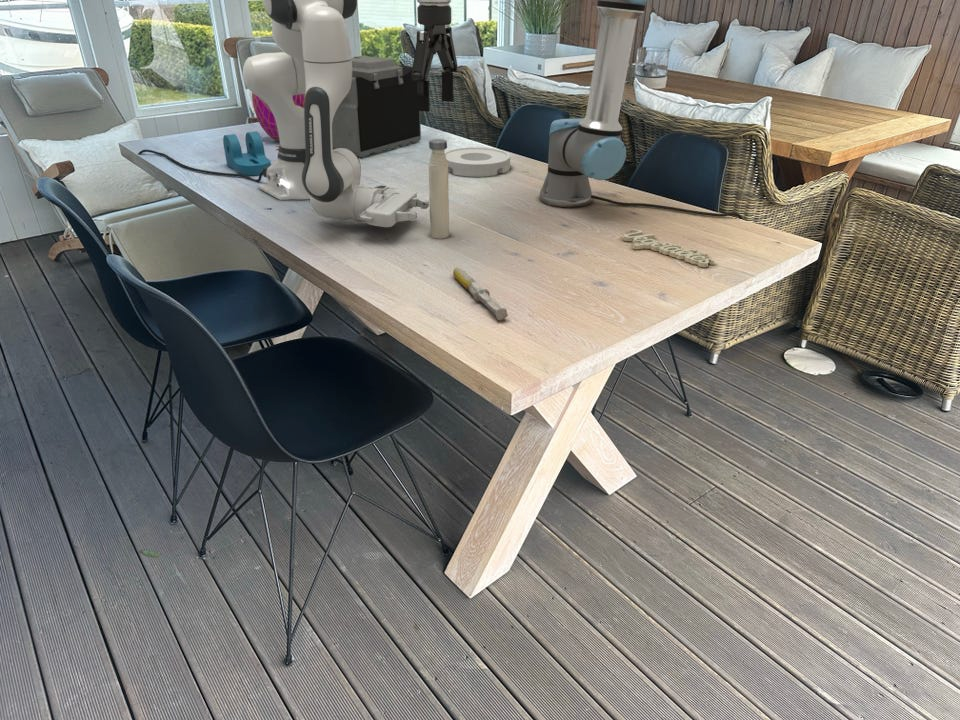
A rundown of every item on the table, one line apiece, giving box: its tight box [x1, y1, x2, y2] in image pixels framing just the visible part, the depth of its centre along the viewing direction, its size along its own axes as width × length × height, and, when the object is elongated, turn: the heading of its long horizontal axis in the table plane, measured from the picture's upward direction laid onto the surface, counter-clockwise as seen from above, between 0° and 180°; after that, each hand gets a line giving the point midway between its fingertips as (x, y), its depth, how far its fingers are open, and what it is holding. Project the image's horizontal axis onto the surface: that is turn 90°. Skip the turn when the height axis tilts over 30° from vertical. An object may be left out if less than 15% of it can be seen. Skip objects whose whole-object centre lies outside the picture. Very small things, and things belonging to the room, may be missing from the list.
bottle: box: [428, 149, 450, 239], centre depth 171 cm, size 5×5×23 cm
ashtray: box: [444, 146, 511, 178], centre depth 232 cm, size 23×23×4 cm
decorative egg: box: [251, 92, 305, 141], centre depth 257 cm, size 19×19×30 cm
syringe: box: [452, 266, 509, 321], centre depth 145 cm, size 25×4×3 cm, turn 21°
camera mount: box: [222, 131, 272, 176], centre depth 226 cm, size 18×10×10 cm, turn 35°
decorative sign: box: [622, 228, 715, 268], centre depth 169 cm, size 26×1×10 cm
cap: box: [428, 138, 448, 151], centre depth 165 cm, size 4×4×2 cm
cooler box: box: [332, 55, 422, 159], centre depth 250 cm, size 37×22×30 cm, turn 144°
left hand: (422, 210), depth 174 cm, fingers open, 8 cm apart
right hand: (436, 106), depth 161 cm, fingers open, 13 cm apart
